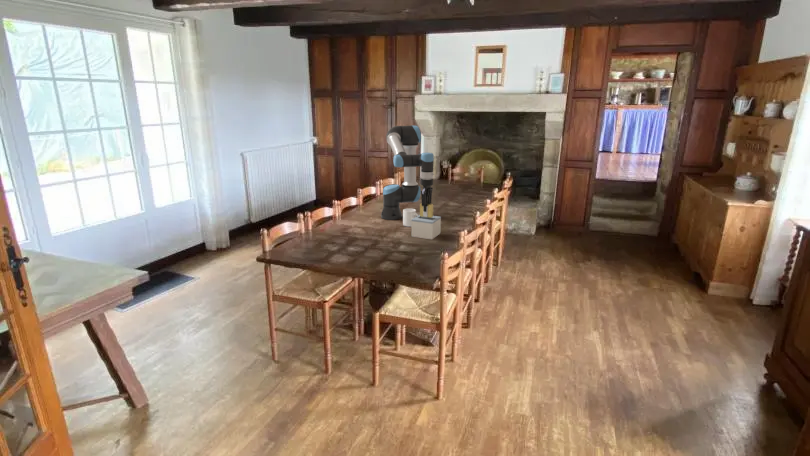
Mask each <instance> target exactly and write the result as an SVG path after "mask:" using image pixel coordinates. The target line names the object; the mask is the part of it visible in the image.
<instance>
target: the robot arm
mask: <svg viewBox="0 0 810 456" xmlns="http://www.w3.org/2000/svg"><path fill="white" fill-rule="evenodd" d="M385 139H386V142H387V144H388V145H389V146H390V148H391V150H392V153H393V159H392V160H393V166H394V168H403V182H402V183H401V185H399V184H389V185H386V186H384V187H383V189H382V197H383V198H382V199H383V200H382V205H383V207H382V211H381V213H380V217H381V219H382V220H388V221H390V220H391V221H393V220H394V221H395V220H400V219H403V212H402V210H401V208H400V207H401V206H400V203H401V204H402V203H417V202H419V200H420V199H421V203H422V206H423V216H425V217H428V206H427V204H432V197H433V187H432V186H433V185H434V175H435V174H434V162H435V161H434V160H435V157H434V153H433V152H422V153H418V154H417V148H418V146H419V144H420V143H421V142H422V133H421V129H420V127H419V126H418V125H395V126H392V127H391V128H390V129H389V130H387V132H386V136H385ZM417 167H420V178H421V179H420V185H421V186H422V188H421V186H420V185H419V183H418V182H417ZM421 189H422V190H421Z"/></svg>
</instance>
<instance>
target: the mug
mask: <svg viewBox="0 0 810 456" xmlns="http://www.w3.org/2000/svg"><path fill="white" fill-rule="evenodd" d="M418 215H419V214H418V213H417V209H415V208H404V209H402V225H403V227H406V228H407V227H408V228H411V227H412V219H413V218H415V217H417V216H418Z"/></svg>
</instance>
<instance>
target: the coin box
mask: <svg viewBox="0 0 810 456" xmlns="http://www.w3.org/2000/svg"><path fill="white" fill-rule="evenodd" d="M441 220H442V216H437V215H433V217H432V218H430V217H422V216H420V214H418V216H416V217H415V218H413V219H412V227H410V228H411V237H413V238H420V239H427V240H434V239H435V238H436V237H437V236H438V235H439V236H440V234H441V231H442V230H441V226H442V221H441Z"/></svg>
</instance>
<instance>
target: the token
mask: <svg viewBox="0 0 810 456" xmlns="http://www.w3.org/2000/svg"><path fill="white" fill-rule="evenodd" d="M427 206H428V217H430V218H432V217H433V216H434V204H433V203H430V204H427ZM419 215H420V216H422V217H425V216H423V206H422V202H420V203H419Z"/></svg>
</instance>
